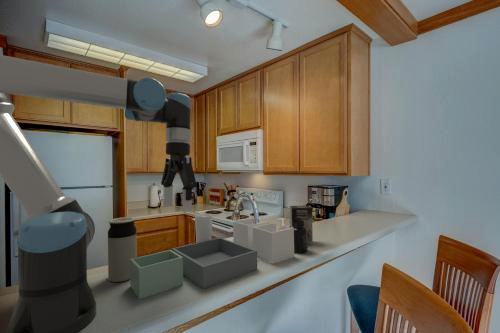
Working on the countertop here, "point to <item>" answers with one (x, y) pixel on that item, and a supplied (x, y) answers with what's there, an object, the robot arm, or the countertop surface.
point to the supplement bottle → (300, 237)
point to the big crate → (216, 261)
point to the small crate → (156, 273)
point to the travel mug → (121, 248)
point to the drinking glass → (203, 227)
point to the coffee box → (306, 216)
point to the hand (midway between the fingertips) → (176, 208)
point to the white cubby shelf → (264, 239)
